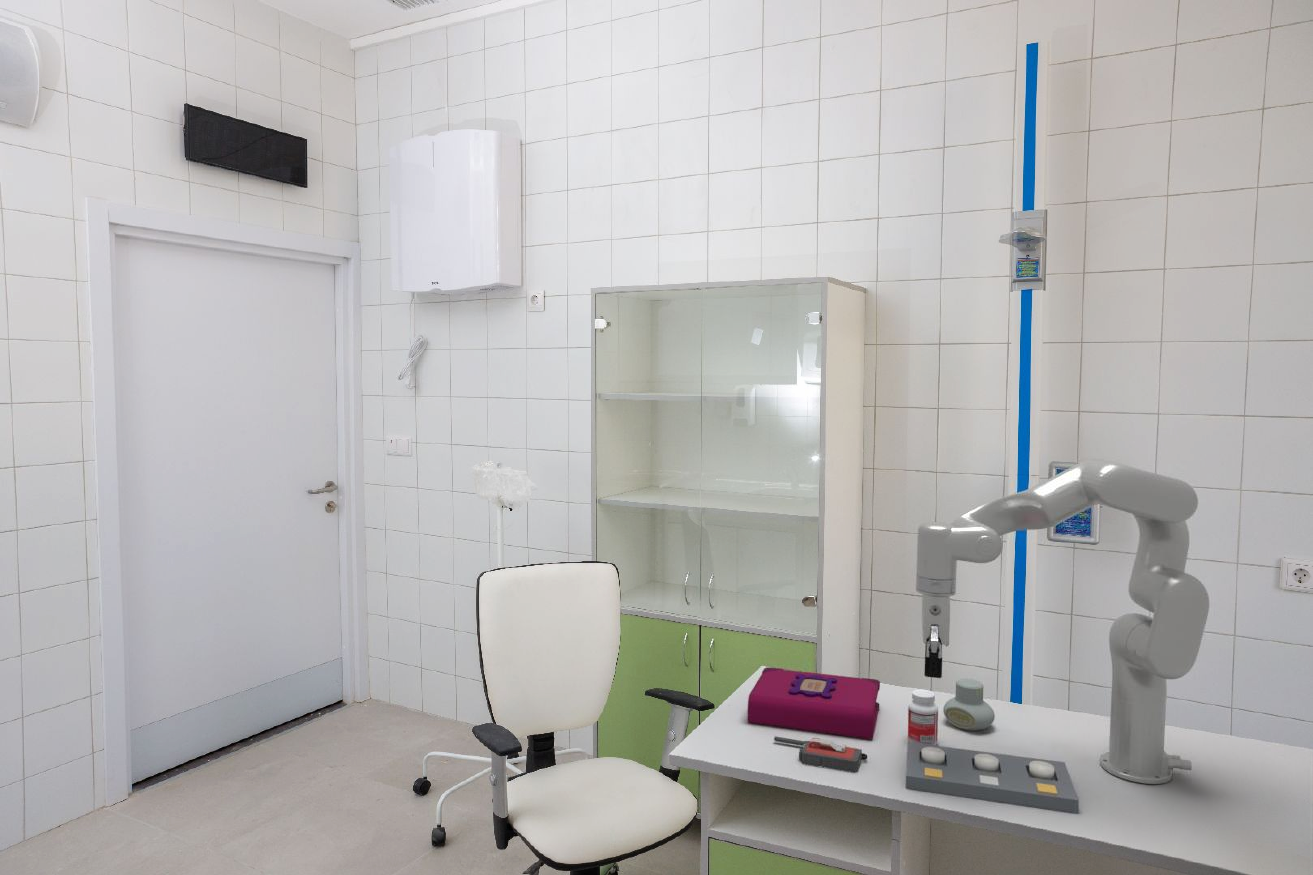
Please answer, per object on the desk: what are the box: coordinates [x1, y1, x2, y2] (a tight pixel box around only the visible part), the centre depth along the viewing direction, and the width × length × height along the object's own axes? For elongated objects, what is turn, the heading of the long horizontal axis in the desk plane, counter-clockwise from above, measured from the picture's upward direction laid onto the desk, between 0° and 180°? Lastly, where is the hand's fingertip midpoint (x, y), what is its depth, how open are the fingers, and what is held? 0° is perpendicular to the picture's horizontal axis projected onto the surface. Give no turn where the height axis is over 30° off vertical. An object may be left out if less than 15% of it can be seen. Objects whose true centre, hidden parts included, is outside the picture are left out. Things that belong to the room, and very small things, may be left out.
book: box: [747, 667, 881, 741], centre depth 196 cm, size 21×28×8 cm
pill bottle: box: [907, 688, 939, 746], centre depth 181 cm, size 6×6×11 cm
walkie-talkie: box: [773, 736, 868, 774], centre depth 174 cm, size 9×4×20 cm
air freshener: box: [943, 678, 996, 731], centre depth 190 cm, size 11×8×10 cm
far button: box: [922, 747, 945, 765], centre depth 168 cm, size 4×4×2 cm
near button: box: [1029, 761, 1054, 780], centre depth 162 cm, size 4×4×2 cm
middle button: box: [974, 754, 999, 772], centre depth 165 cm, size 4×4×2 cm
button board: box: [905, 741, 1080, 814], centre depth 163 cm, size 30×16×3 cm, turn 72°
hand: (933, 668), depth 167 cm, fingers open, 9 cm apart
